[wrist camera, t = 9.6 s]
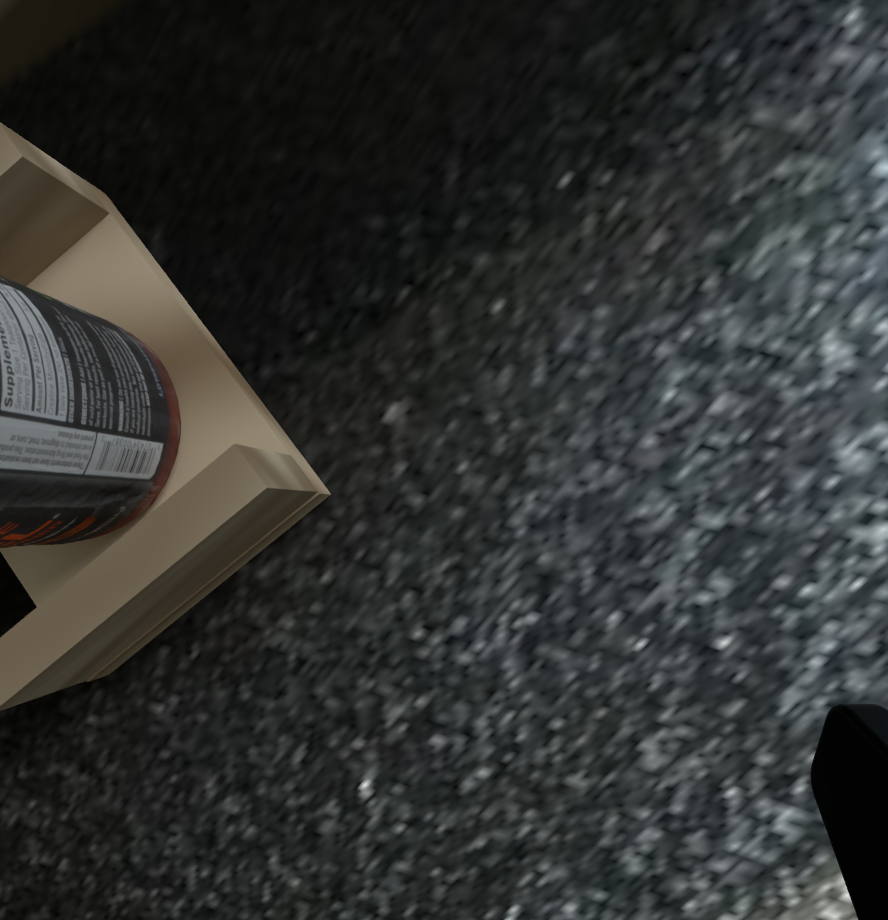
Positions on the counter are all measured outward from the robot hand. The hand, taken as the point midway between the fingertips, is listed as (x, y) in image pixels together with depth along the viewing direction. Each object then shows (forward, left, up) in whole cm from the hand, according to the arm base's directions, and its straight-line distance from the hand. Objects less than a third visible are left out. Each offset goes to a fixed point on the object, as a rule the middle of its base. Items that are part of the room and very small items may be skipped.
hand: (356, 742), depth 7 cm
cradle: (+5, +11, -13) cm, 18 cm away
